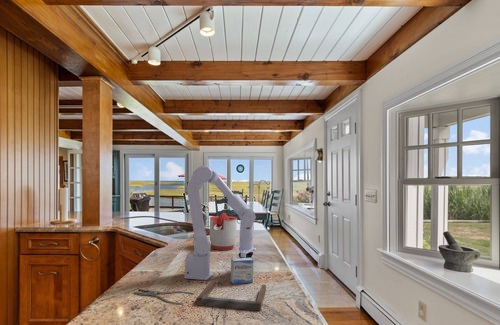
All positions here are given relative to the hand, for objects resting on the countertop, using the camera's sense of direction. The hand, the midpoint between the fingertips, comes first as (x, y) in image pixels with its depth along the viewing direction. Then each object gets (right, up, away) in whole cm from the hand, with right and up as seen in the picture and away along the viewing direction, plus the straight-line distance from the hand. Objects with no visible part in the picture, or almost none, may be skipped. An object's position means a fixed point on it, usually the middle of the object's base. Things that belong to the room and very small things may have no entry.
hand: (245, 270), depth 122 cm
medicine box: (-1, -1, -9) cm, 9 cm away
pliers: (-27, 0, -26) cm, 37 cm away
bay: (-4, 0, -24) cm, 24 cm away
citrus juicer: (-14, -3, +42) cm, 45 cm away
